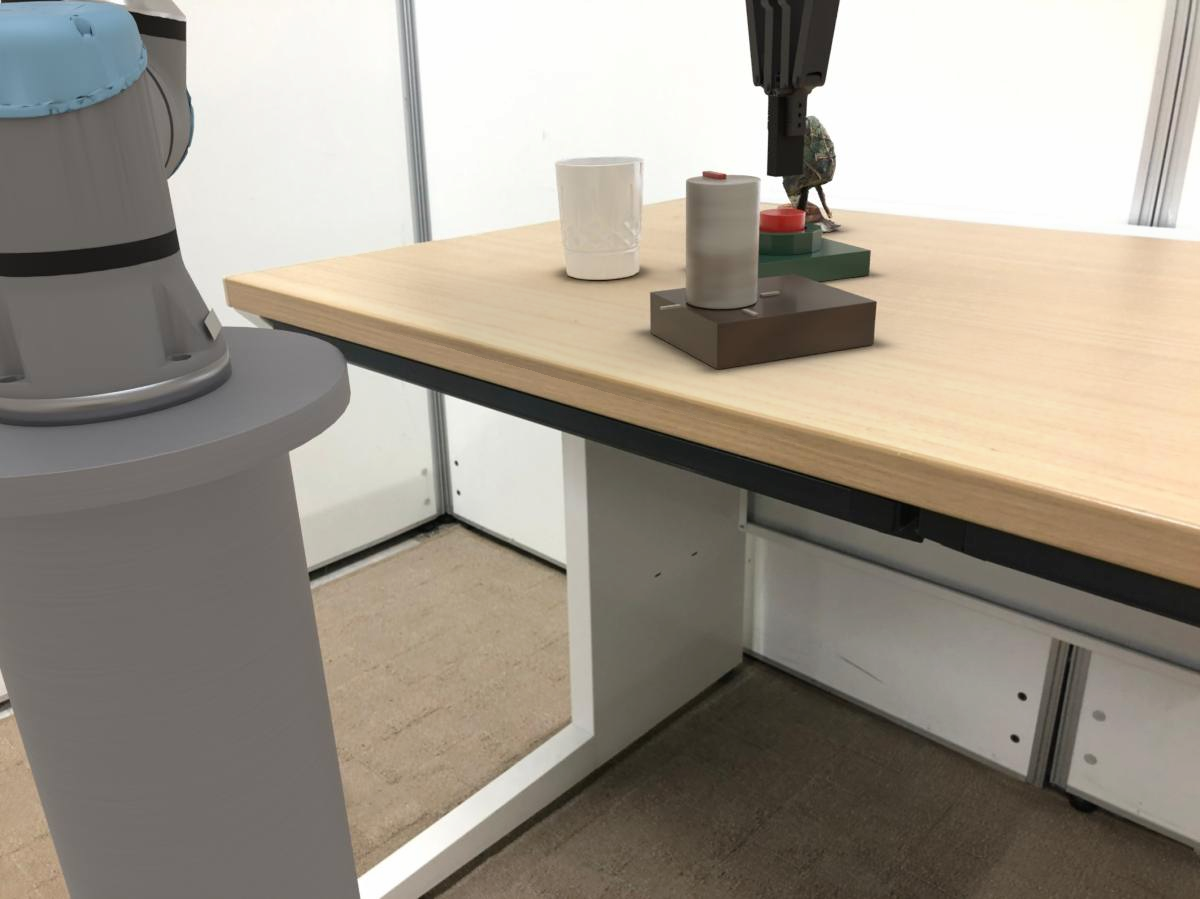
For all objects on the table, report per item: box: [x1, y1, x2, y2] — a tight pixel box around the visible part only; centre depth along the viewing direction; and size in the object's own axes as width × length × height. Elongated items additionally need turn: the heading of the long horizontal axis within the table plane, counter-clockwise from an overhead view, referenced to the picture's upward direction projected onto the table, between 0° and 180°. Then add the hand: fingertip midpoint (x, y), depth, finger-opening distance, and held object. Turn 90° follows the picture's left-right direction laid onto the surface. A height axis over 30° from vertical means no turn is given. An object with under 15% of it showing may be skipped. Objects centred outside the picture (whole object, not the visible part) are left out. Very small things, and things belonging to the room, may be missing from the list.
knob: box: [685, 170, 762, 309], centre depth 65 cm, size 5×5×8 cm
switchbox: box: [758, 222, 872, 283], centre depth 88 cm, size 12×10×4 cm
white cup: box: [554, 155, 645, 281], centre depth 89 cm, size 8×8×10 cm
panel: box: [649, 274, 878, 370], centre depth 68 cm, size 14×10×3 cm
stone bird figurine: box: [776, 115, 842, 234], centre depth 105 cm, size 8×11×20 cm
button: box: [759, 208, 805, 232], centre depth 87 cm, size 4×4×2 cm
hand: (784, 174), depth 86 cm, fingers closed
